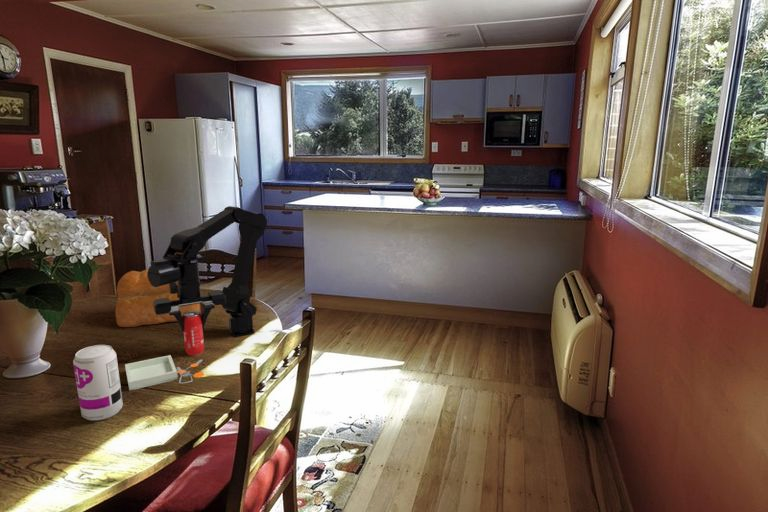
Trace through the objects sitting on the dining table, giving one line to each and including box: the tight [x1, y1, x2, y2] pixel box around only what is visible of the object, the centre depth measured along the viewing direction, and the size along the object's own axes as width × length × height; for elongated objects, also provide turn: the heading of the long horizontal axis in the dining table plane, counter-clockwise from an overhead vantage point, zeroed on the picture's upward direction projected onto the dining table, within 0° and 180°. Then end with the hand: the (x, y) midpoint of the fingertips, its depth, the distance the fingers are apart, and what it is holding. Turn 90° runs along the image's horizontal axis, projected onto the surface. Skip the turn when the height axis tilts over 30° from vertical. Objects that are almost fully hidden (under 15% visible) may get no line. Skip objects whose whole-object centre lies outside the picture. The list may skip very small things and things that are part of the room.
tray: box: [124, 354, 179, 391], centre depth 125 cm, size 11×11×2 cm
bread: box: [115, 268, 201, 328], centre depth 163 cm, size 16×26×17 cm, turn 112°
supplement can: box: [72, 344, 124, 422], centre depth 106 cm, size 8×8×15 cm
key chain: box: [176, 359, 205, 385], centre depth 127 cm, size 13×7×1 cm, turn 21°
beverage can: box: [182, 311, 205, 356], centre depth 137 cm, size 5×5×12 cm
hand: (192, 329), depth 137 cm, fingers closed on beverage can, 5 cm apart
